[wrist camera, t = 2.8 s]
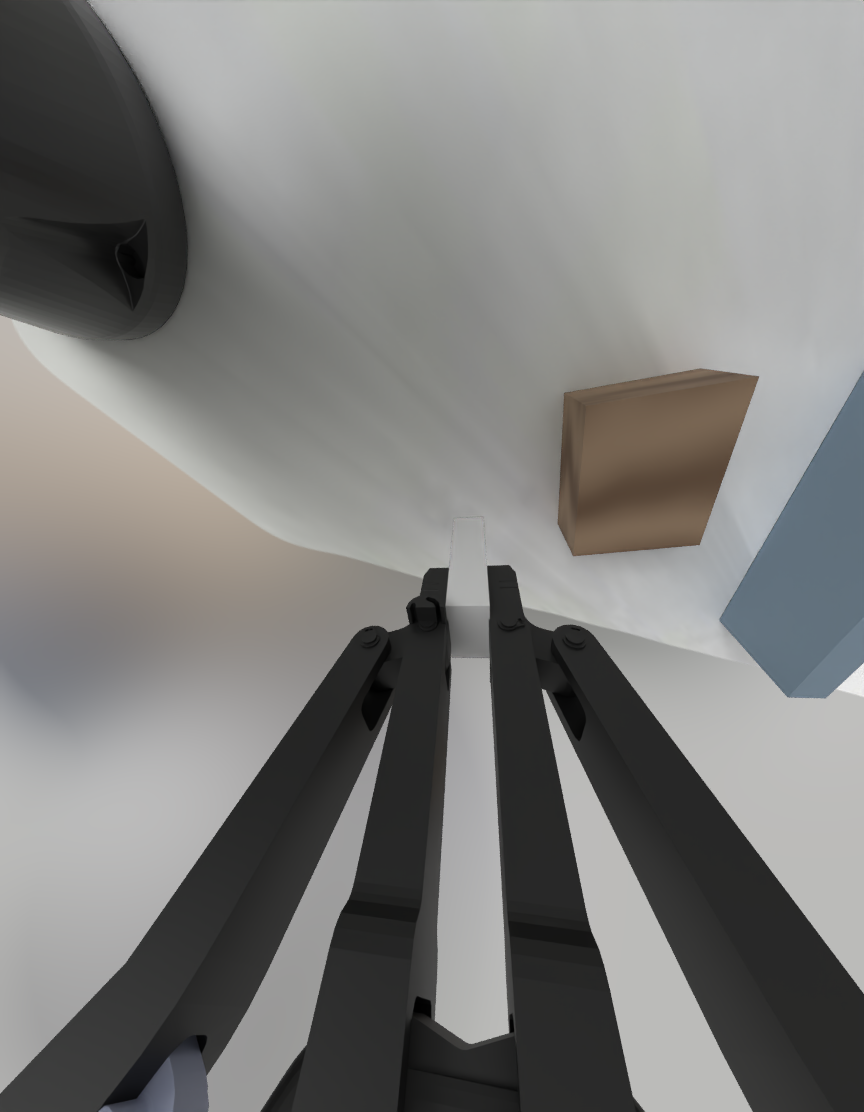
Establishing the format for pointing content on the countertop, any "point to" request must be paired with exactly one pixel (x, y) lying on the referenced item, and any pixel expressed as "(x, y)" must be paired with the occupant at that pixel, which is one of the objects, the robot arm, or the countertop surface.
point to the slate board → (811, 572)
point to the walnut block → (647, 459)
